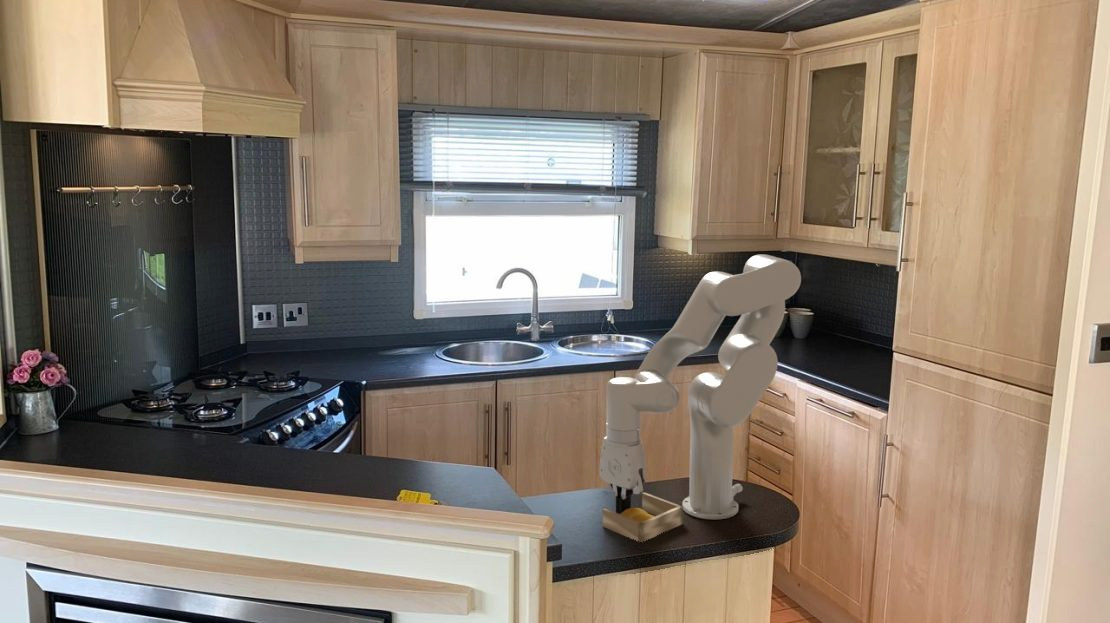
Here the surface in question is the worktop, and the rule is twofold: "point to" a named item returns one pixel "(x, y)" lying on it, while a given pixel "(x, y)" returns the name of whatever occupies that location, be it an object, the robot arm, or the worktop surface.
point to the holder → (664, 520)
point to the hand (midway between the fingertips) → (623, 512)
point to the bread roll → (637, 514)
